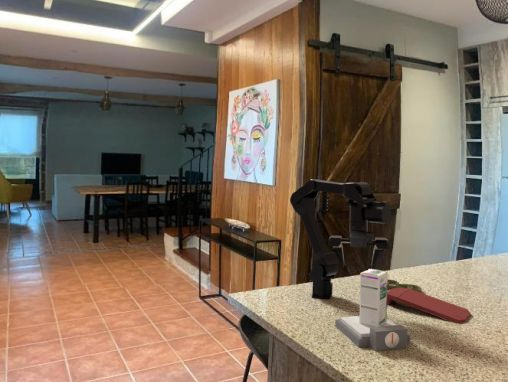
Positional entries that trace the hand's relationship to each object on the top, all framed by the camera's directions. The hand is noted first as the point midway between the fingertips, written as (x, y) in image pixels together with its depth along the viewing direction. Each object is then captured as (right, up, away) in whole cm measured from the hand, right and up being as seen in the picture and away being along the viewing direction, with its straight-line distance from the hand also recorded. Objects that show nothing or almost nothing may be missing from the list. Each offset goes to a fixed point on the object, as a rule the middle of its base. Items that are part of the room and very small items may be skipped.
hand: (357, 268), depth 139 cm
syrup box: (-1, -12, -21) cm, 24 cm away
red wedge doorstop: (+22, -14, 0) cm, 26 cm away
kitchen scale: (-1, -15, -23) cm, 27 cm away
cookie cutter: (+20, -13, +22) cm, 32 cm away
